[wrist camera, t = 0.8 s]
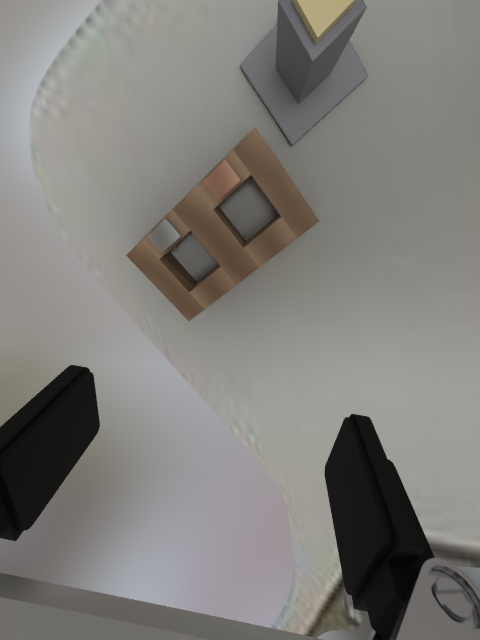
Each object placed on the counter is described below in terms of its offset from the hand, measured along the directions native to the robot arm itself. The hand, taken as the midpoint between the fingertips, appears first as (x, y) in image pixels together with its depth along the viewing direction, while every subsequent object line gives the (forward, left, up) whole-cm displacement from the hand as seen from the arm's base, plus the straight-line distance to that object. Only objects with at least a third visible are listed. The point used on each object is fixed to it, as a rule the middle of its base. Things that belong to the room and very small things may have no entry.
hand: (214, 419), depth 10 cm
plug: (-14, -11, -25) cm, 30 cm away
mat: (-14, -11, -25) cm, 31 cm away
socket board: (+1, -5, -25) cm, 26 cm away
